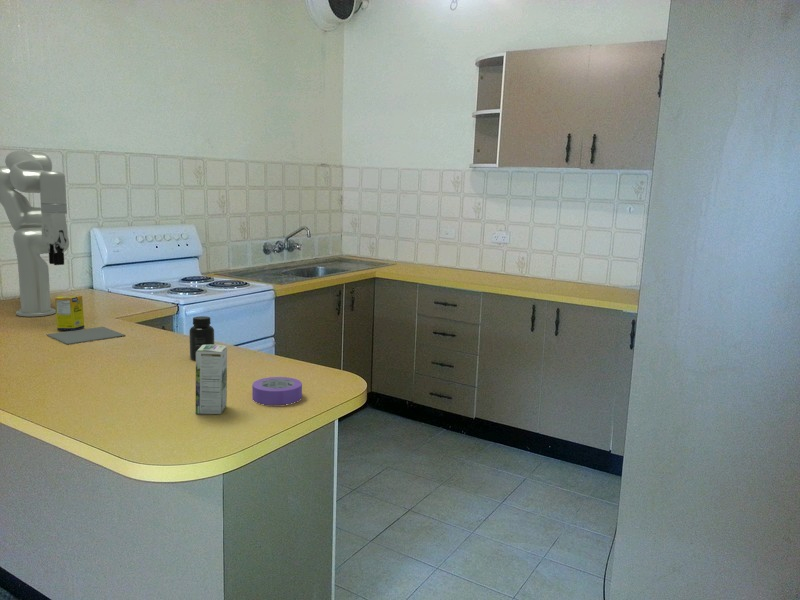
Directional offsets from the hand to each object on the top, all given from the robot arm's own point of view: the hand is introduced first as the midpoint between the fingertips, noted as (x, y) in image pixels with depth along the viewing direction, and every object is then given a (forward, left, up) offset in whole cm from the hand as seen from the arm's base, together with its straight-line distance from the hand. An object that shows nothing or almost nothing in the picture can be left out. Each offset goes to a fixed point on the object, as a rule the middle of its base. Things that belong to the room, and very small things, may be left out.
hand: (56, 263), depth 210 cm
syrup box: (+106, -9, -21) cm, 109 cm away
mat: (+21, 0, -21) cm, 29 cm away
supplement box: (+9, 0, -21) cm, 23 cm away
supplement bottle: (+67, +13, -21) cm, 72 cm away
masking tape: (+109, +7, -22) cm, 111 cm away
